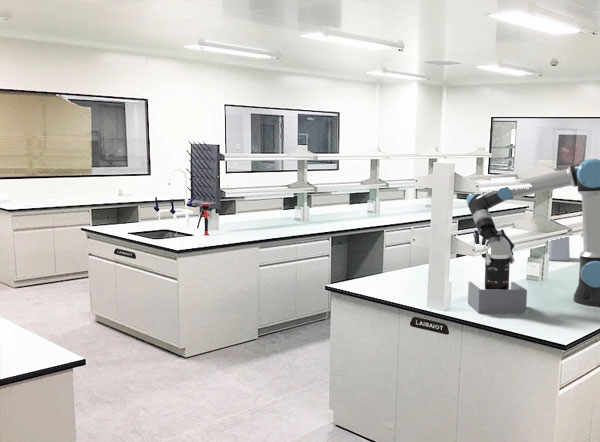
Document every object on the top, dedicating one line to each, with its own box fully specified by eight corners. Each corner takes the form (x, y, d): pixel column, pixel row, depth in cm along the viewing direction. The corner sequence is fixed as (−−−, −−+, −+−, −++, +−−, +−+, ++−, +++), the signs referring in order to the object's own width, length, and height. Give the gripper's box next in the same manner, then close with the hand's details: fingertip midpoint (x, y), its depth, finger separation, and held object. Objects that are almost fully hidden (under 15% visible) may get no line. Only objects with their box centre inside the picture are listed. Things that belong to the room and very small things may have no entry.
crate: (512, 303, 252) (513, 281, 251) (525, 313, 237) (527, 290, 236) (467, 303, 253) (468, 281, 251) (478, 313, 237) (479, 289, 236)
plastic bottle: (571, 261, 351) (573, 217, 348) (545, 260, 354) (547, 216, 351) (564, 257, 366) (566, 214, 363) (539, 256, 369) (541, 214, 365)
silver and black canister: (512, 290, 244) (514, 233, 241) (503, 295, 237) (505, 236, 234) (489, 287, 251) (491, 231, 248) (480, 291, 243) (481, 234, 240)
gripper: (504, 226, 258) (521, 266, 244) (457, 227, 254) (472, 268, 240) (510, 216, 252) (529, 256, 238) (463, 217, 248) (479, 258, 235)
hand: (500, 262), depth 239 cm, fingers closed on silver and black canister, 10 cm apart
